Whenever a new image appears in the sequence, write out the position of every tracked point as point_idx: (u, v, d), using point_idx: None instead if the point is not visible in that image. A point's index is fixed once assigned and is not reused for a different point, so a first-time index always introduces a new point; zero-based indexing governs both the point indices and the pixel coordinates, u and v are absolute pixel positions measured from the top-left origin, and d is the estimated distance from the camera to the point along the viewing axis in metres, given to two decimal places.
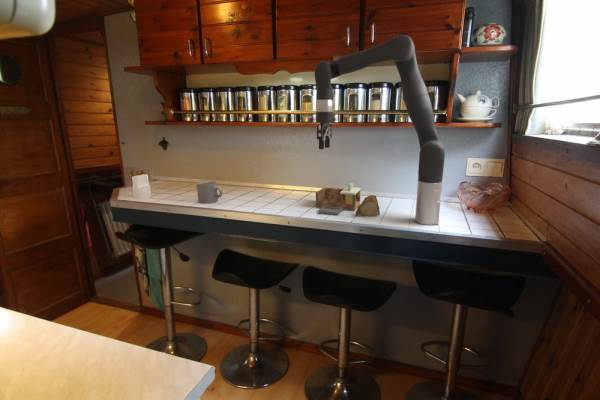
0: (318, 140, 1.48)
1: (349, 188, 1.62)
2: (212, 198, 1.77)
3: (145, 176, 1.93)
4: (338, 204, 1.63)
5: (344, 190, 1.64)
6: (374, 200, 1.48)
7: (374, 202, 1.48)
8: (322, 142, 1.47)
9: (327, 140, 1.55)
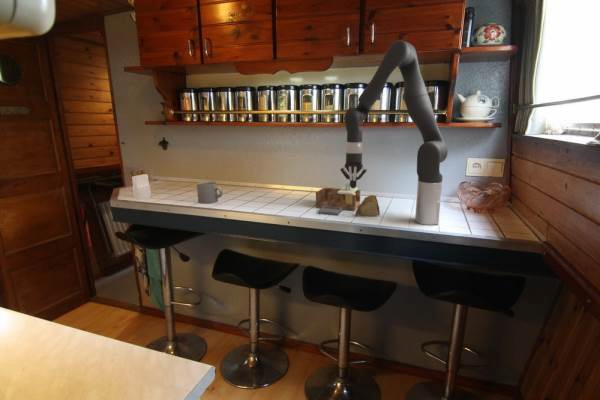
0: (353, 180, 1.62)
1: (346, 188, 1.63)
2: (212, 198, 1.77)
3: (145, 176, 1.93)
4: (338, 204, 1.63)
5: (341, 190, 1.64)
6: (374, 200, 1.48)
7: (374, 202, 1.48)
8: None
9: None
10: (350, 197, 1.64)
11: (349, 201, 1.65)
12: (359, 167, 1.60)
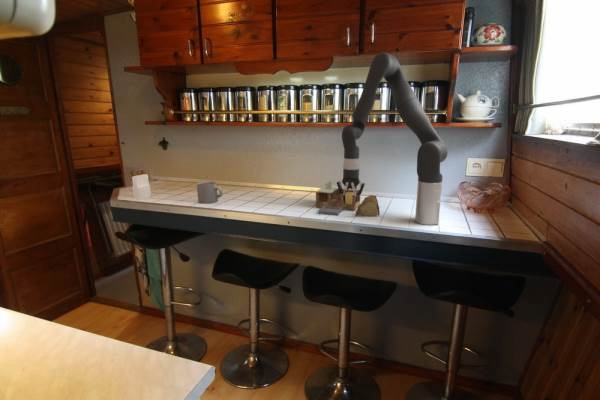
0: None
1: (326, 186, 1.66)
2: (212, 198, 1.77)
3: (145, 176, 1.93)
4: (338, 204, 1.63)
5: (322, 188, 1.68)
6: (374, 200, 1.48)
7: (374, 202, 1.48)
8: None
9: None
10: (350, 197, 1.64)
11: (349, 201, 1.65)
12: (356, 183, 1.62)
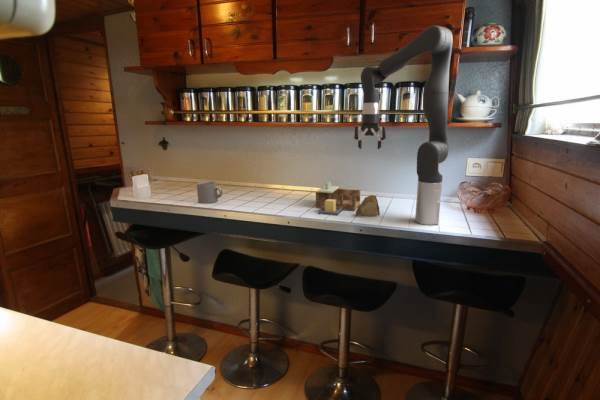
0: (380, 140, 1.58)
1: (326, 186, 1.66)
2: (212, 198, 1.77)
3: (145, 176, 1.93)
4: (338, 204, 1.63)
5: (322, 188, 1.68)
6: (374, 200, 1.48)
7: (374, 202, 1.48)
8: None
9: (361, 141, 1.62)
10: (330, 204, 1.56)
11: (329, 209, 1.57)
12: (377, 128, 1.57)
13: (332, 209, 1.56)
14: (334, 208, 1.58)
